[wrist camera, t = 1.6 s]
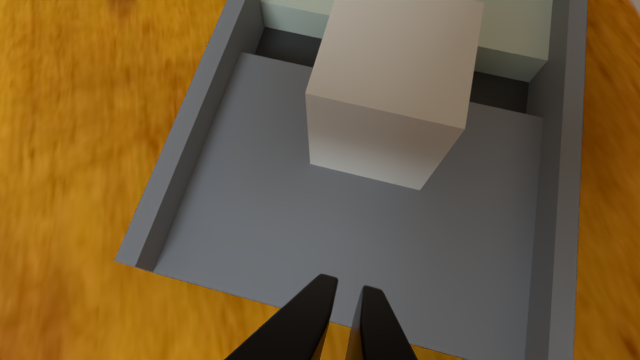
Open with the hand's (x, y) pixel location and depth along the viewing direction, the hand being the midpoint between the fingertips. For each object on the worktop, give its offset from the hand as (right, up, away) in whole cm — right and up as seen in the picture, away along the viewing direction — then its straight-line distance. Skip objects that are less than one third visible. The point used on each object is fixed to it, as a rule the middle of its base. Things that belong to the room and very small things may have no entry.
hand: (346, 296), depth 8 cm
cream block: (+3, +5, +14) cm, 15 cm away
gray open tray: (+3, +7, +17) cm, 19 cm away
